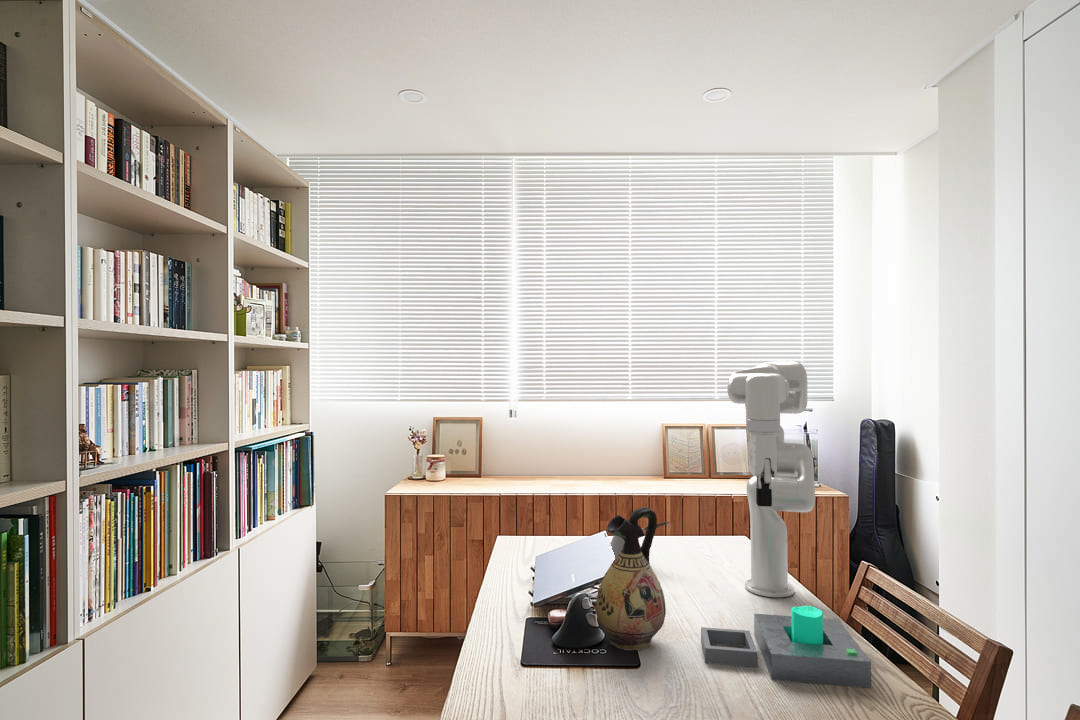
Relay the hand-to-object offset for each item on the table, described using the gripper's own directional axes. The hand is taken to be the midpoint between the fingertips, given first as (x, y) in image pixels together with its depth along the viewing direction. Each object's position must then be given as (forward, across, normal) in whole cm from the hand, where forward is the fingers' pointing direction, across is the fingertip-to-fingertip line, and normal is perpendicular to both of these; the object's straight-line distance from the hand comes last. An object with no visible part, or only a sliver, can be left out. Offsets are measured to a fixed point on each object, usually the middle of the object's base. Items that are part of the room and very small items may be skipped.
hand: (764, 505), depth 139 cm
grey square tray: (+29, +13, -10) cm, 33 cm away
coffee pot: (+29, -44, -30) cm, 61 cm away
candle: (+29, +14, +6) cm, 33 cm away
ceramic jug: (+29, +11, -30) cm, 43 cm away
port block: (+29, +13, +6) cm, 32 cm away
